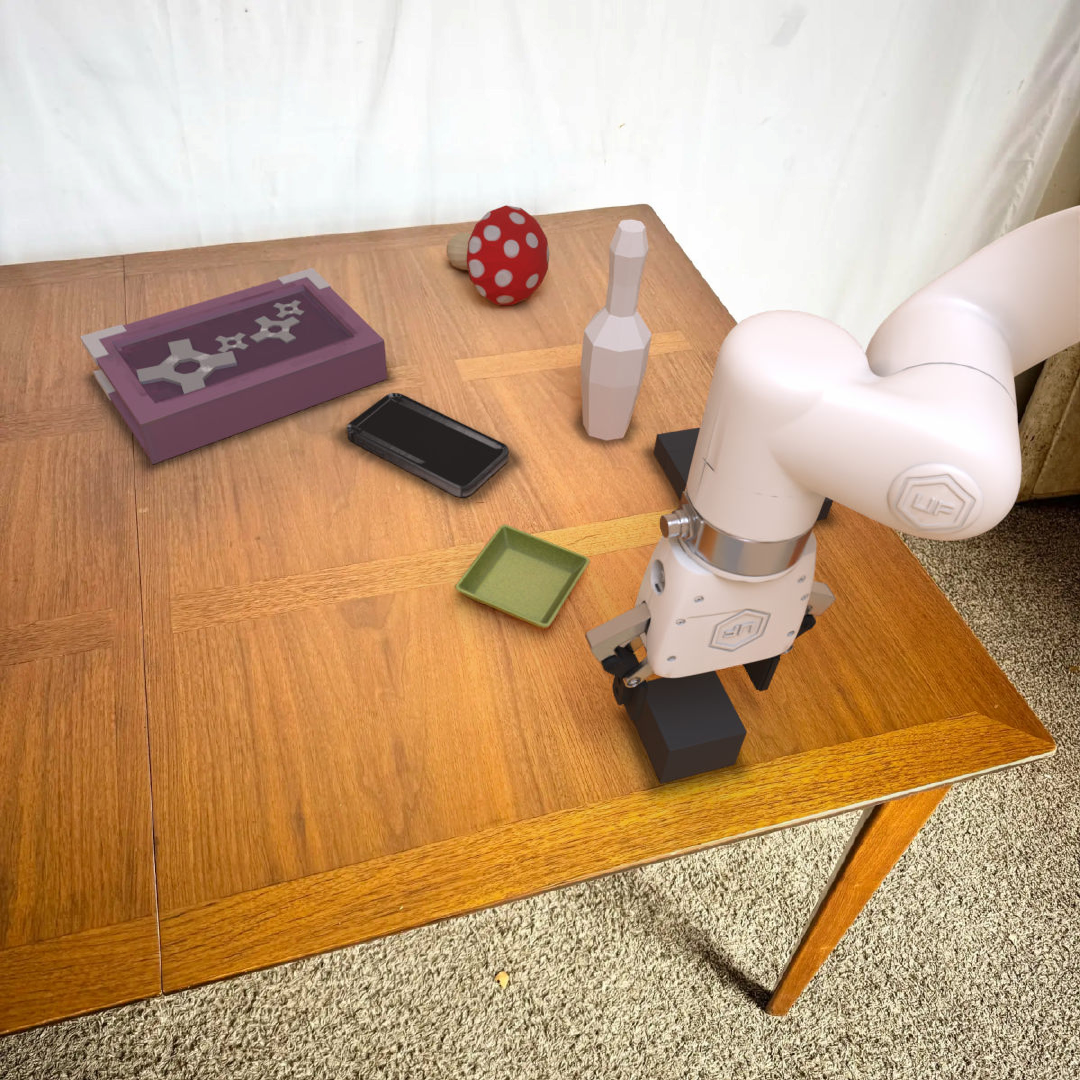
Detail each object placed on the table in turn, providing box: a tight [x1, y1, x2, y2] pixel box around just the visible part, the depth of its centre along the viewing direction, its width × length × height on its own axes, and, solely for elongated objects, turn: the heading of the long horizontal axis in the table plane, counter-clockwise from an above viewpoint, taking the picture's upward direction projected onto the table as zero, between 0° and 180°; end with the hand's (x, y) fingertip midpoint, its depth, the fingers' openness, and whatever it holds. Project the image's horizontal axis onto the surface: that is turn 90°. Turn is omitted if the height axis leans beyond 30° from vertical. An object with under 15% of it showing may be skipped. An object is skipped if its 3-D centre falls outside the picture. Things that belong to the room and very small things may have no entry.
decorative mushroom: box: [446, 204, 550, 307], centre depth 113 cm, size 11×11×15 cm
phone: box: [346, 392, 510, 498], centre depth 94 cm, size 8×1×15 cm
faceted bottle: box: [580, 219, 653, 441], centre depth 90 cm, size 6×6×22 cm
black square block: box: [632, 670, 748, 784], centre depth 71 cm, size 6×6×4 cm
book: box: [79, 267, 388, 465], centre depth 99 cm, size 25×16×5 cm, turn 126°
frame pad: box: [653, 426, 834, 521], centre depth 92 cm, size 13×13×2 cm
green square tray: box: [454, 524, 591, 629], centre depth 81 cm, size 9×9×2 cm
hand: (691, 688), depth 68 cm, fingers open, 9 cm apart
